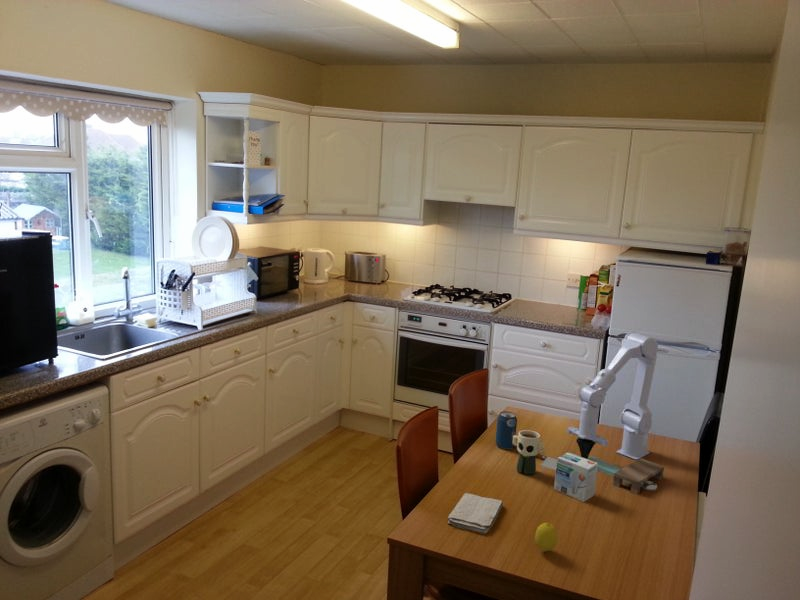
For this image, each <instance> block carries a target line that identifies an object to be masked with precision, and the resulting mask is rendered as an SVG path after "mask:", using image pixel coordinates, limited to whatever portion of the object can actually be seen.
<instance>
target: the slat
mask: <svg viewBox="0 0 800 600" xmlns="http://www.w3.org/2000/svg"><path fill="white" fill-rule="evenodd" d="M587 459H588V460H591V461H593V462H596V463H598V468H597V472H601V473H603V474H606V475H609V476H610V477H613V478H614V473H615V472H617V471H619V470H621V469H623V467H619V466H618V465H614V464H612V463H610V462H607V461H605V460H602V459H599V458H596V457H594V456H588V458H587ZM622 482H625V483H628V484H630V485H632V483H631V482H628V481H626V480H623V481H622Z"/></svg>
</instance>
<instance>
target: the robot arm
mask: <svg viewBox="0 0 800 600" xmlns="http://www.w3.org/2000/svg"><path fill="white" fill-rule="evenodd" d="M658 347H659V343H658V342H657V341H656V339H655V338H653V337H649V336H647V335H643V334H641V333H637V331H636V332H635V331H629V332H627V333H626V334H625V335H624V338H623V339H622V340H621V347H620V349H619V350H618V352H617V353H616V355H615V356H614V357H613V359H612V360H611V362H610V364H609V365H608V366H607V368H603V369H601V370H600V371H599V372H598V373H597V375H596V376H595V377H594V379H592V381H591V382H590V384H588V385H586V386H583V388H581V390H580V393H579V394H578V398H579V400H580V405H581V410H580V418H579V425H578V426H579V428H577V427H574V426H568V427H567V429H566V434H568V435H570V434H571V435H574V436H576V437H578V438H576V443H577V446H578V448H579V453H580V457H582V458H585V459H587V458H589V457H590V456H589V455H590V453H591V452H592V450H593V448H594V446H595V445H596V444H599V445H601V446H602V447H603V448H604V447H606V446H608V445H609V440H608V439H607V438H604V437H602V436H601V435H599V434H597V432H598V431H597V430H598V429H597V428H598V423H599V422H598V421H599V413H600V406H601V405H603V404H604V403H605V400H606V399H605V398H606V396H607V392H608V391H609V389H610V388H611V387H612V385H613V384H614V383H615V382H616V380H617V378H616V375H617V374H618V373H619V372H620V370H621V369H622V368H624V366H625V365H626V364H627V363H628V362H629V361H630V360H631V359H636V358H637V359H638V363H637V368H636V374H635V379H634V385H633V388H632V394H631V399H630V402H628V403H626V404H624V407H623V408H624V409H623V410H622V412H621V414H620V422H621V423H622V427H623V435H622V442H621V448H620V449H618V450H616V454H620V455H622V456H625V457H627V458H631V459H633V460H635V461H637V460H639V459H641V458H642V459H643V457H645V456H647V455H649V454H650V452H649V451H648V444H649V437H650V436H649V433H648V432H649V431H650V430H651V429H652V425H653V421H652V416H653V413H652V411H651V410H650V408H649V407H648V401H649V396H650V392H651V387H652V382H653V378H654V373H655V366H656V363H657V358H658V355H657V353H658Z"/></svg>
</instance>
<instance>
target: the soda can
mask: <svg viewBox="0 0 800 600" xmlns="http://www.w3.org/2000/svg"><path fill="white" fill-rule="evenodd" d="M496 422H497V423H496V430H495V431H496V432H495V445H496V446H497V447H498V448H499V447H500V448H499V449H502V450H512V449H513V448H514V446H515V445H513V436H517V426H518V424H517V423H518V419H517V414H516V413H514V412H512V411H505V410H504V411H501V412H499V414H498V416H497V420H496Z"/></svg>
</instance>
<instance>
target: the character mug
mask: <svg viewBox="0 0 800 600" xmlns="http://www.w3.org/2000/svg"><path fill="white" fill-rule="evenodd" d="M516 439H517V440H516ZM516 441H517V442H516ZM513 445H514V446H516V450H517V452H518V453H519V455H518V460H517V463H516V467H515V468H516V471H518V472H519V473H522V471H523V474H526V475H532V474H534V473H536V470H537V469H536V467H537V463H536V461H537V458H535V455H537V454H539V453H542V454H543V453H545V449H546V443H544V442H541V434H540V433H538V432H537V431H534V430H530V429H524V430H519V431H518V435H516V436H513ZM540 447H541V448H540Z"/></svg>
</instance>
